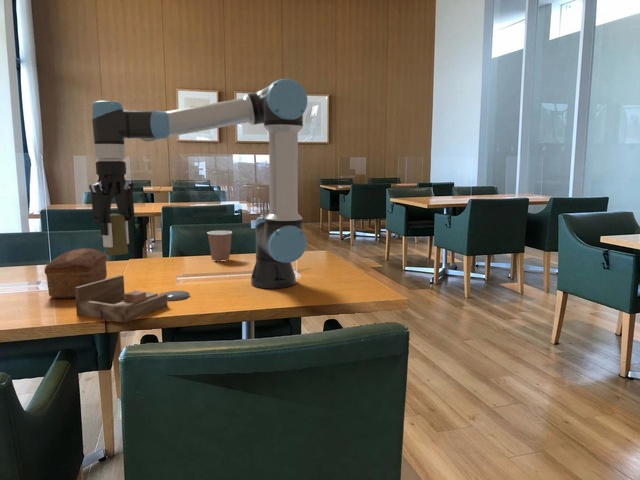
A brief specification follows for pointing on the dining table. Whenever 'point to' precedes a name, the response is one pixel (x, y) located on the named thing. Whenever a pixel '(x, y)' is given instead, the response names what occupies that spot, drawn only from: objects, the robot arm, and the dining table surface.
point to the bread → (75, 271)
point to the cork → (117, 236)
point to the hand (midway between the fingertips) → (116, 245)
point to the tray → (112, 301)
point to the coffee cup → (220, 244)
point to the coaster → (176, 295)
